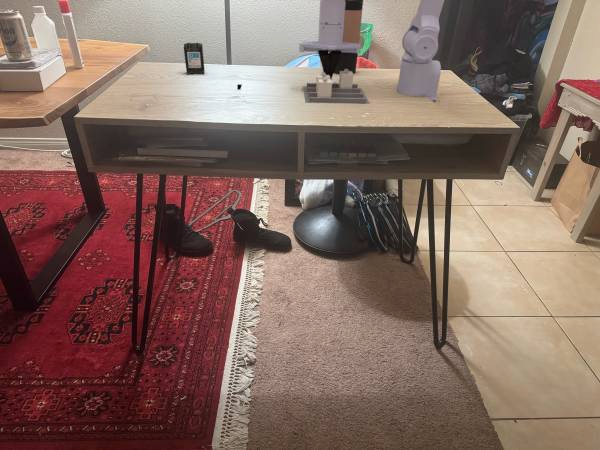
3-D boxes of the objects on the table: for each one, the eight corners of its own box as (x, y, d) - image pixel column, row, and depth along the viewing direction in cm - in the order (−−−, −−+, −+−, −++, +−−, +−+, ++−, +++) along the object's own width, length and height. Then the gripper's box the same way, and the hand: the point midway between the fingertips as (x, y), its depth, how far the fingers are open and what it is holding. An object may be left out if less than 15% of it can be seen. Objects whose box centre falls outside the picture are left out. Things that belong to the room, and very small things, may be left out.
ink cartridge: (186, 74, 120) (183, 44, 115) (187, 72, 122) (183, 42, 117) (204, 74, 121) (201, 44, 116) (204, 72, 122) (202, 42, 118)
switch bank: (360, 92, 111) (361, 83, 109) (369, 108, 100) (370, 99, 99) (302, 91, 110) (302, 82, 109) (305, 107, 99) (305, 98, 98)
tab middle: (328, 91, 105) (329, 72, 103) (329, 95, 103) (330, 75, 100) (315, 91, 105) (316, 72, 102) (316, 94, 103) (317, 75, 100)
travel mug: (326, 72, 127) (331, -4, 116) (351, 72, 128) (358, -3, 117) (333, 79, 120) (338, -1, 110) (359, 79, 122) (367, 0, 111)
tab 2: (350, 87, 109) (352, 68, 106) (351, 90, 106) (353, 71, 104) (338, 87, 109) (340, 68, 106) (339, 90, 106) (341, 71, 104)
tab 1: (329, 96, 102) (330, 76, 99) (330, 100, 99) (332, 79, 97) (316, 96, 102) (318, 76, 99) (317, 99, 99) (319, 79, 97)
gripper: (300, 24, 95) (299, 86, 103) (365, 26, 96) (358, 87, 103) (299, 20, 101) (297, 78, 109) (360, 21, 102) (354, 80, 109)
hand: (327, 82), depth 106 cm, fingers closed
